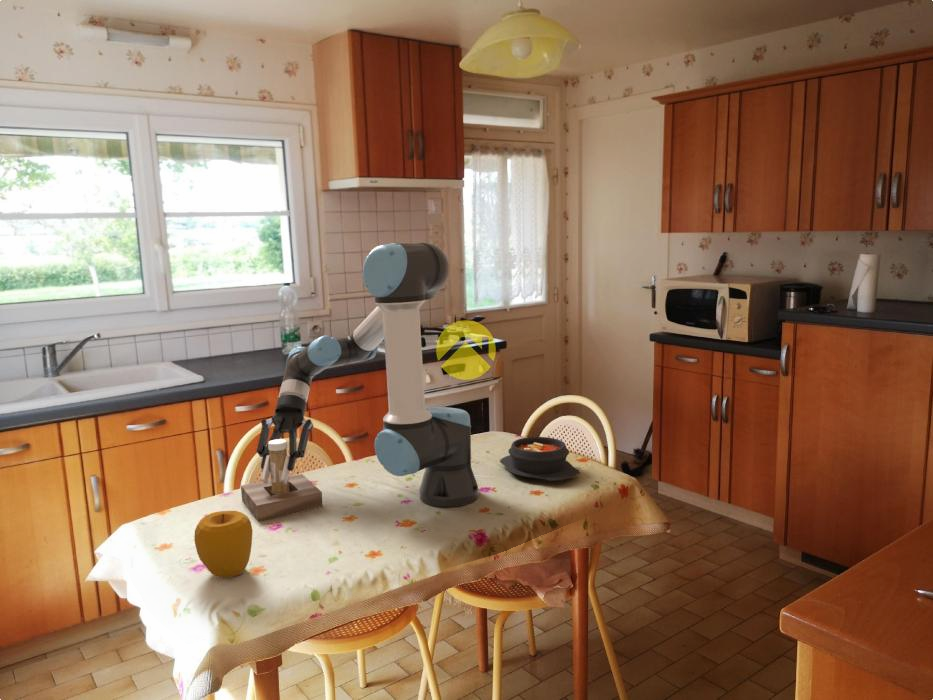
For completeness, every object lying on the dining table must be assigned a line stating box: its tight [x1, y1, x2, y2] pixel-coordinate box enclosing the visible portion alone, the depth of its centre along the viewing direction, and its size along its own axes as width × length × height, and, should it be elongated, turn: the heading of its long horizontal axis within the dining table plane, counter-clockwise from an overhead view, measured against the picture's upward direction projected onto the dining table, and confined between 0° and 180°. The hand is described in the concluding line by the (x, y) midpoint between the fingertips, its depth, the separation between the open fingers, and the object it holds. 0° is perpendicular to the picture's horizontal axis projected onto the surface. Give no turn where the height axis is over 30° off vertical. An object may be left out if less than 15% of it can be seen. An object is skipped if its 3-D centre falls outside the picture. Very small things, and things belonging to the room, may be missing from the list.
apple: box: [193, 510, 253, 579], centre depth 140 cm, size 11×11×13 cm
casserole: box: [499, 436, 581, 482], centre depth 196 cm, size 25×19×8 cm
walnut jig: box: [240, 473, 324, 522], centre depth 177 cm, size 16×16×4 cm
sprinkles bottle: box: [267, 438, 290, 495], centre depth 176 cm, size 5×5×13 cm
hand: (274, 481), depth 173 cm, fingers closed on sprinkles bottle, 4 cm apart
